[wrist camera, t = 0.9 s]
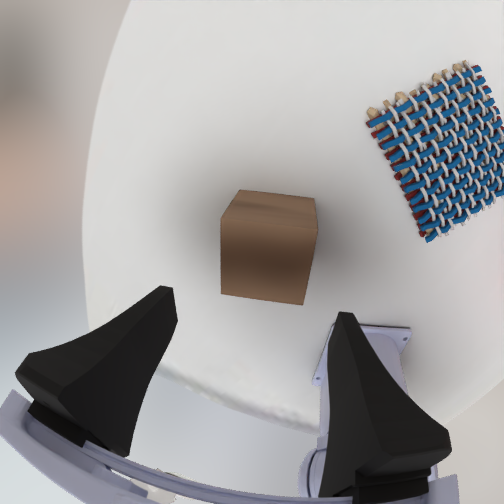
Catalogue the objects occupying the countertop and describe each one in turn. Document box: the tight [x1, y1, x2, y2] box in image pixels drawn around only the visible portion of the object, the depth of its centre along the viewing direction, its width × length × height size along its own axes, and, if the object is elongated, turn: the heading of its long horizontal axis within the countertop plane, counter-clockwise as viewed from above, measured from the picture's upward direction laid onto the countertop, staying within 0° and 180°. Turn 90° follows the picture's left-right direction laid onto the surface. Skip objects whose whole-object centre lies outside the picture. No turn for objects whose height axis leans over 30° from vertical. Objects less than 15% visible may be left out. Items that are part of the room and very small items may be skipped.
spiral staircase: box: [130, 469, 176, 504], centre depth 70 cm, size 18×18×25 cm
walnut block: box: [221, 190, 318, 305], centre depth 17 cm, size 5×5×5 cm
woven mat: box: [366, 60, 504, 243], centre depth 14 cm, size 10×11×2 cm
